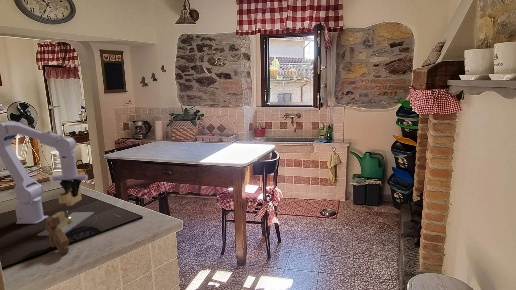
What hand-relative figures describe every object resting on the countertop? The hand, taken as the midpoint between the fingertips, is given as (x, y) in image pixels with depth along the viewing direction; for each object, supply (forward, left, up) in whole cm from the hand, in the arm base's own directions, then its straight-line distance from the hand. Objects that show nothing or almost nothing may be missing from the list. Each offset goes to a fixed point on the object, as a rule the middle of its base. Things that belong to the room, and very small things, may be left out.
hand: (72, 196), depth 151 cm
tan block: (0, -2, -3) cm, 3 cm away
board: (0, -5, -10) cm, 12 cm away
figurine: (+11, -28, -10) cm, 32 cm away
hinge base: (0, -10, -10) cm, 14 cm away
